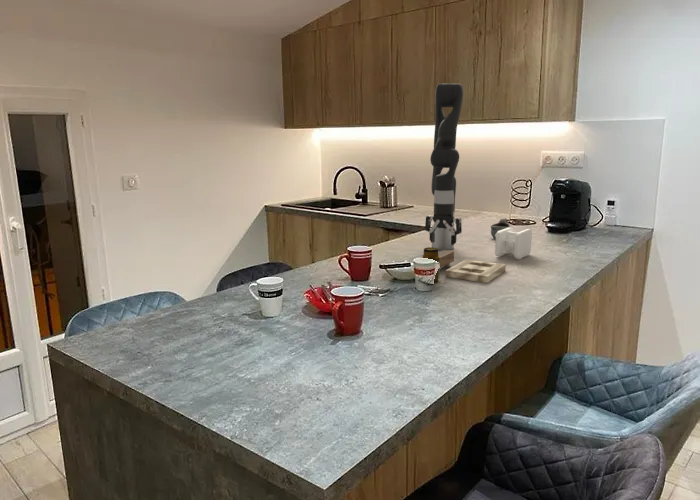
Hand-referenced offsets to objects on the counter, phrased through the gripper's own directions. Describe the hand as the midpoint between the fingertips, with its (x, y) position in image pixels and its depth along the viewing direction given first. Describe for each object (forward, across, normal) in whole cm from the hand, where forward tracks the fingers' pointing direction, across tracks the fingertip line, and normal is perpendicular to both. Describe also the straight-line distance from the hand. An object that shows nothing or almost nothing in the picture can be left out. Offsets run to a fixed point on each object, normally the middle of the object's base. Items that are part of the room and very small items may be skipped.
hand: (442, 243), depth 204 cm
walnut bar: (+10, 0, 0) cm, 10 cm away
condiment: (+11, +4, -18) cm, 21 cm away
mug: (+10, 0, +70) cm, 71 cm away
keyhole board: (+10, +14, 0) cm, 17 cm away
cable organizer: (+10, +17, +35) cm, 40 cm away
